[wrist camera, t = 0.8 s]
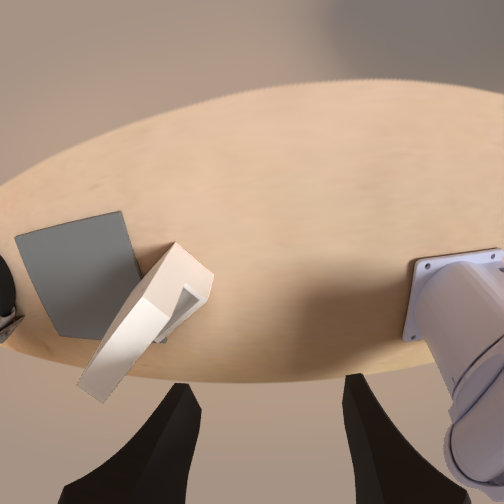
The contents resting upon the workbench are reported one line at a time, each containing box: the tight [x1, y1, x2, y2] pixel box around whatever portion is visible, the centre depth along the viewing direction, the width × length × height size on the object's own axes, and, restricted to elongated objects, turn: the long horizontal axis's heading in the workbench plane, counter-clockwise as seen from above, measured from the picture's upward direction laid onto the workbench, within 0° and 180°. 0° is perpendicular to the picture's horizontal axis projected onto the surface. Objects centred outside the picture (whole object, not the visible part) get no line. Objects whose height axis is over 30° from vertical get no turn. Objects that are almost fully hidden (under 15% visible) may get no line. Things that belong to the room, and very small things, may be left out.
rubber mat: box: [14, 211, 167, 343], centre depth 22 cm, size 14×12×1 cm
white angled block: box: [77, 242, 214, 403], centre depth 18 cm, size 4×10×9 cm
